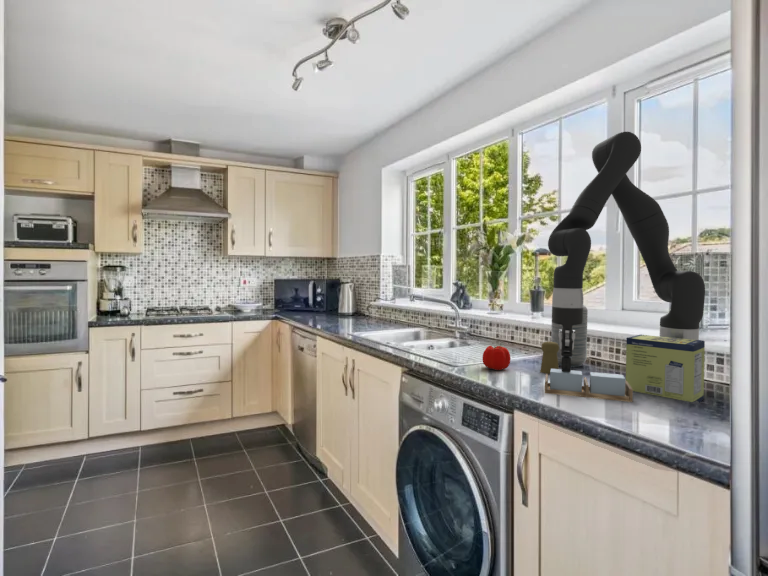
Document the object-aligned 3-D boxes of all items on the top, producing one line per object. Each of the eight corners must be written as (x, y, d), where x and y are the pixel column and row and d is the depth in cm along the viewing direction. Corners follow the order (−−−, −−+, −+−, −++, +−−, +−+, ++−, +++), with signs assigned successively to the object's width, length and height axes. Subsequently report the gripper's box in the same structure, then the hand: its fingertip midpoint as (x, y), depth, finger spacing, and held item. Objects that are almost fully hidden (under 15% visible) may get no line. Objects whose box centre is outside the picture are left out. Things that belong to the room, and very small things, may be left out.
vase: (577, 369, 146) (578, 301, 145) (544, 364, 154) (546, 300, 154) (592, 365, 153) (593, 300, 153) (560, 359, 162) (561, 298, 161)
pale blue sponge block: (622, 394, 111) (622, 374, 111) (624, 398, 107) (625, 378, 106) (589, 390, 113) (590, 372, 113) (590, 395, 109) (591, 375, 109)
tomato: (500, 365, 152) (501, 344, 152) (514, 371, 143) (515, 348, 143) (476, 366, 149) (477, 345, 149) (489, 372, 141) (489, 349, 141)
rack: (626, 398, 112) (626, 380, 112) (632, 408, 104) (632, 389, 104) (545, 390, 120) (545, 373, 120) (544, 399, 111) (544, 381, 111)
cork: (561, 379, 132) (562, 343, 132) (541, 378, 133) (541, 342, 133) (557, 374, 138) (558, 340, 138) (538, 373, 139) (538, 339, 139)
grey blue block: (581, 389, 114) (581, 371, 114) (581, 394, 110) (582, 374, 110) (550, 386, 117) (550, 368, 117) (549, 390, 113) (550, 371, 113)
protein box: (637, 388, 123) (639, 333, 122) (704, 400, 111) (706, 340, 110) (623, 395, 116) (625, 337, 115) (693, 408, 104) (695, 344, 103)
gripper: (584, 307, 105) (583, 378, 106) (581, 304, 118) (580, 367, 118) (551, 306, 108) (550, 375, 109) (552, 303, 120) (550, 365, 121)
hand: (565, 371), depth 113 cm, fingers closed
